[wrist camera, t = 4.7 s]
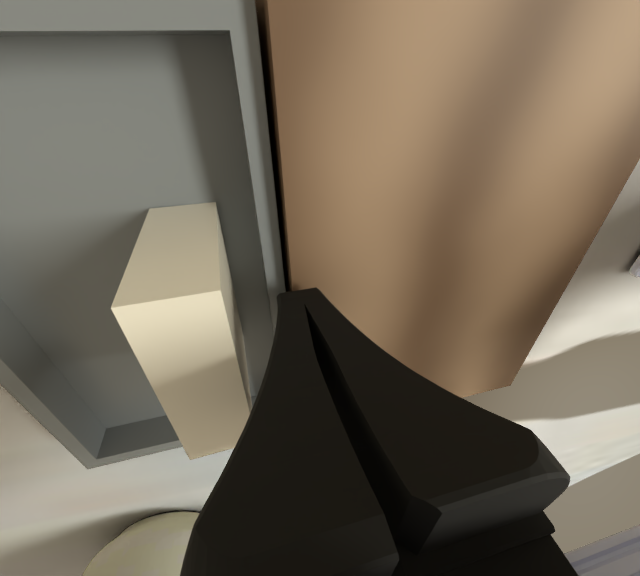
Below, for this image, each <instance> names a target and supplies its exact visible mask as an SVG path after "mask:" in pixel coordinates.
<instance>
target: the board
mask: <svg viewBox="0 0 640 576" xmlns="http://www.w3.org/2000/svg"><path fill="white" fill-rule="evenodd" d="M255 1H256V11H257V20H258V30H259V40H260V49H261V59H262V68H263V78H264V88H265V97H266V107H267V116H268V126H269V136H270V145H271V155H272V165H273V174H274V184H275V193H276V203H277V213H278V222H279V232H280V241H281V251H282V261H283V270H284V280H285V289H286V292H291V291H297V290H303V289H309V288H315V287H317V288H318V289H319V290H320V291H321V292H322V293H323V294H324V295H325V297H326V298H327V299H328V300H329V301H330V302H331V303H332V304H333V305H334V306H335V307H336V308H337V309H338V310H339V311H340V312H341V313H342V314H343V315H344V316H345V317H346V318H347V319H348V320H349V321H350V322H351V323H352V324H353V325H354V326H356V327H357V328H358V329H359V330H360V331H361V332H362V333H363V334H365V335H366V336H367V337H368V338H369V339H371V340H372V341H373V342H374V343H375V344H377V345H378V346H379V347H380V348H382V349H383V350H384V351H386V352H387V353H388V354H390V355H391V356H393V357H394V358H395V359H397V360H398V361H400V362H401V363H402V364H404V365H405V366H407V367H409V368H410V369H412V370H413V371H415V372H416V373H418V374H420V375H421V376H423V377H425V378H426V379H428V380H430V381H432V382H433V383H435V384H437V385H438V386H440V387H442V388H444V389H445V390H447V391H449V392H451V393H453V394H455V395H457V396H459V397H460V398H462V397H466V396H470V395H474V394H478V393H482V392H486V391H490V390H494V389H498V388H502V387H506V386H510V385H511V383H512V382H513V380H514V378H515V376H516V374H517V373H518V371H519V369H520V368H521V366H522V364H523V362H524V361H525V359H526V357H527V355H528V354H529V352H530V350H531V348H532V347H533V345H534V343H535V341H536V340H537V338H538V336H539V334H540V333H541V331H542V329H543V327H544V326H545V324H546V322H547V320H548V319H549V317H550V315H551V313H552V311H553V310H554V308H555V306H556V304H557V303H558V301H559V299H560V297H561V296H562V294H563V292H564V290H565V289H566V287H567V285H568V283H569V282H570V280H571V278H572V276H573V275H574V273H575V271H576V269H577V268H578V266H579V264H580V262H581V261H582V259H583V257H584V255H585V254H586V252H587V250H588V248H589V247H590V245H591V243H592V241H593V240H594V238H595V236H596V234H597V233H598V231H599V229H600V227H601V226H602V224H603V222H604V220H605V219H606V217H607V215H608V213H609V211H610V210H611V208H612V206H613V204H614V203H615V201H616V199H617V197H618V196H619V194H620V192H621V190H622V189H623V187H624V185H625V183H626V182H627V180H628V178H629V176H630V175H631V173H632V171H633V169H634V168H635V166H636V164H637V162H638V161H639V159H640V0H255Z"/></svg>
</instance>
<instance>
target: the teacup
mask: <svg viewBox="0 0 640 576" xmlns="http://www.w3.org/2000/svg"><path fill="white" fill-rule="evenodd" d="M199 514H200V513H197V512H184V511H183V512H170V513H164V514H159V515H155V516H151V517H148V518H145V519H143V520H141V521H138V522H136V523H135V524H133V525H131V526H130V527H128V528H127V529H125V530H124V531H123V532H122V533H121V534H120V535H119V536H118V537H117V538H115V539H114V540H112V541H111V542H110V543H108V544H107V545H106V546H104V547H103V548H102V549H101V550H100V551H99V552H98V553H97V554H96V555H95V556H94V558H93V559H92V560H91V562H90V563H89V564H88V566H87V568H86V569H85V571H84V573H83V575H82V576H180V572H181V568H182V564H183V560H184V556H185V552H186V549H187V545H188V542H189V538H190V535H191V532H192V528H193V525H194V523H195V521H196V519H197V517H198V515H199Z"/></svg>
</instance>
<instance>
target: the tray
mask: <svg viewBox="0 0 640 576" xmlns="http://www.w3.org/2000/svg"><path fill="white" fill-rule="evenodd" d="M211 202H216V205H217V210H218V215H219V220H220V225H221V230H222V234H223V239H224V244H225V249H226V254H227V259H228V264H229V269H230V273H231V278H232V283H233V288H234V293H235V298H236V303H237V307H238V312H239V317H240V322H241V327H242V332H243V339H244V346H245V354H246V362H247V370H248V378H249V386H250V394H251V401H252V408H253V405H254V403H255V400H256V398H257V395H258V392H259V389H260V386H261V384H262V381H263V378H264V375H265V371H266V368H267V365H268V361H269V357H270V353H271V349H272V345H273V340H274V335H275V329H276V323H277V311H278V306H277V298H276V297H277V296H278V294H279V293H285V283H284V273H283V264H282V254H281V245H280V235H279V226H278V216H277V207H276V197H275V188H274V178H273V168H272V159H271V149H270V140H269V130H268V121H267V111H266V102H265V92H264V83H263V73H262V64H261V54H260V44H259V35H258V25H257V16H256V6H255V0H0V384H1V385H2V386H3V387H4V388H5V389H6V390H7V391H8V392H9V393H10V394H11V395H12V396H13V397H14V398H15V399H16V400H17V401H18V402H19V403H20V404H21V405H22V406H23V407H24V408H25V409H26V410H27V411H28V412H29V413H30V414H31V415H33V416H34V417H35V418H36V419H37V420H38V421H39V422H40V423H41V424H42V425H43V426H44V427H45V428H46V429H47V430H48V431H49V432H50V433H51V434H52V435H53V436H54V437H55V438H56V439H57V440H58V441H59V442H60V443H61V444H62V445H63V446H64V447H65V448H66V449H67V450H68V451H69V452H70V453H71V454H73V455H74V456H75V457H76V458H77V459H78V460H79V461H80V462H81V463H82V464H83V465H84V466H85V467H86V468H87V469H91V468H95V467H99V466H103V465H107V464H112V463H116V462H120V461H124V460H128V459H132V458H137V457H141V456H145V455H149V454H153V453H158V452H162V451H166V450H170V449H174V448H178V447H183V445H182V444H181V442H180V440H179V438H178V436H177V434H176V432H175V430H174V428H173V426H172V424H171V423H170V421H169V419H168V417H167V415H166V413H165V411H164V409H163V407H162V405H161V403H160V401H159V400H158V398H157V396H156V394H155V392H154V390H153V388H152V386H151V384H150V382H149V380H148V379H147V377H146V375H145V373H144V371H143V369H142V367H141V365H140V363H139V361H138V359H137V357H136V356H135V354H134V352H133V350H132V348H131V346H130V344H129V342H128V340H127V338H126V336H125V335H124V333H123V331H122V329H121V327H120V325H119V323H118V321H117V319H116V317H115V315H114V313H113V312H112V310H111V306H112V303H113V301H114V298H115V296H116V293H117V290H118V288H119V285H120V283H121V280H122V278H123V275H124V273H125V270H126V267H127V265H128V262H129V260H130V257H131V255H132V252H133V249H134V247H135V244H136V242H137V239H138V237H139V234H140V232H141V229H142V226H143V224H144V221H145V219H146V216H147V214H148V211H149V209H150V208H160V207H170V206H180V205H191V204H201V203H211Z"/></svg>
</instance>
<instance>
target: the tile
mask: <svg viewBox="0 0 640 576" xmlns="http://www.w3.org/2000/svg"><path fill="white" fill-rule="evenodd" d="M111 310H112V312H113V313H114V315H115V317H116V319H117V321H118V323H119V325H120V327H121V329H122V331H123V333H124V335H125V336H126V338H127V340H128V342H129V344H130V346H131V348H132V350H133V352H134V354H135V356H136V357H137V359H138V361H139V363H140V365H141V367H142V369H143V371H144V373H145V375H146V377H147V379H148V380H149V382H150V384H151V386H152V388H153V390H154V392H155V394H156V396H157V398H158V400H159V401H160V403H161V405H162V407H163V409H164V411H165V413H166V415H167V417H168V419H169V421H170V423H171V424H172V426H173V428H174V430H175V432H176V434H177V436H178V438H179V440H180V442H181V444H182V445H183V447H184V449H185V451H186V453H187V455H188V457H189V459H190V460H192V459H195V458H199V457H203V456H206V455H210V454H214V453H217V452H221V451H225V450H228V449H232V448H235V446H236V444H237V442H238V440H239V438H240V435H241V433H242V431H243V429H244V427H245V425H246V422H247V420H248V418H249V415H250V413H251V410H252V401H251V394H250V386H249V378H248V370H247V362H246V354H245V346H244V339H243V332H242V327H241V322H240V317H239V312H238V307H237V303H236V298H235V293H234V288H233V283H232V278H231V273H230V269H229V264H228V259H227V254H226V249H225V244H224V239H223V234H222V230H221V225H220V220H219V215H218V210H217V205H216V202H211V203H201V204H191V205H180V206H170V207H160V208H150V209H149V211H148V214H147V216H146V219H145V221H144V224H143V226H142V229H141V232H140V234H139V237H138V239H137V242H136V244H135V247H134V249H133V252H132V255H131V257H130V260H129V262H128V265H127V267H126V270H125V273H124V275H123V278H122V280H121V283H120V285H119V288H118V290H117V293H116V296H115V298H114V301H113V303H112V306H111Z"/></svg>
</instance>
